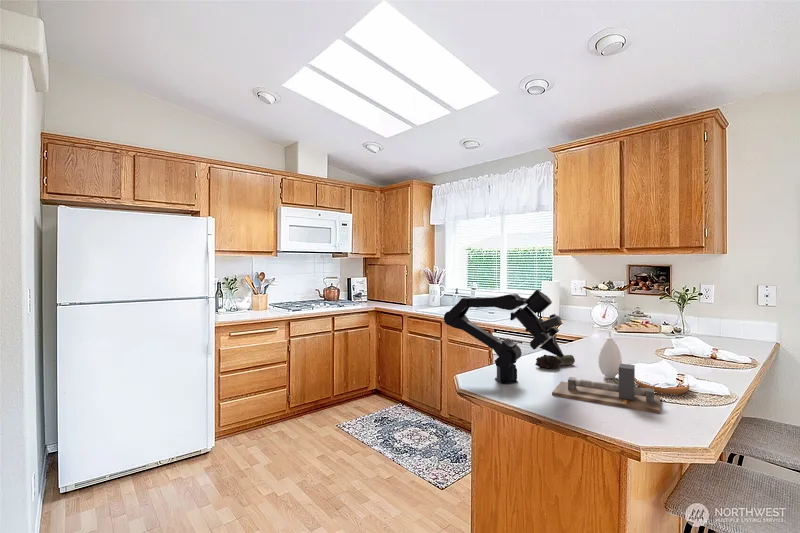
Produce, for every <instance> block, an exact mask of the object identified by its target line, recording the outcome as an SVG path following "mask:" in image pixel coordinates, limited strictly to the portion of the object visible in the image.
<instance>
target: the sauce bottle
mask: <svg viewBox="0 0 800 533" xmlns="http://www.w3.org/2000/svg"><path fill="white" fill-rule="evenodd" d="M598 352H599V353H598V361H597V362H598V368H599V370H600V372H601V374H602V375H603V376H604V377H606V379H610V378H612V379H615V378H616V375H617V374H618V375H619V365H620V364H623V362H622V360H623V359H622V354H621V350H620V348H619V346H618V344H617V343H616V341H615V339H614V337H611V330H609V332H608V336H607V337H605V340H604V341H603V342H602V344H601V347H600V348H599V351H598ZM618 375H617V376H618ZM614 377H615V378H614Z"/></svg>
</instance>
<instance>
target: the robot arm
mask: <svg viewBox="0 0 800 533" xmlns="http://www.w3.org/2000/svg"><path fill="white" fill-rule="evenodd" d="M551 304H553V302H552V300H551V299H550V297H549V296H548V295H546V294H545V293H543V292H542V291H540V289H535V291H534V292H533V293H532V294H531V295H530V296H528V298H526V297H523V296H522V297H521V295H519V294H517V293H509V294H505V295H499V296H490V297H489V296H485V297H484V296H483V297H478V296H477V297H469V296H467V297H461V299H460V300H459V301H458V302H457V303H456V304H455V305H454V306H453V307H452V308H450V310H449V311H447V312H445V313H444V315H443V321H444V322H443V323H445V325H447V326H449V327H451V328H453V329H457V330H460V331H461V330H462V331H463V332H465V333H466V334H468V335H470V336H471V337H473V338H474V339H476V340H477V341H479V342H480V343H483V344H484V345H486V346H487V347H489V348H490V349H492V350H493V352H494V353H496V356H497V358H496V359H495V360H494V363H495V366H496V377H494V380H495V381H497V382H499V383H500V384H502V385H505V384H506V385H507V384H517V383H519V380H518V369H517V366H516V363H517V360H519V359H520V358H521V356H522V349H521V348H520V346H518V343H516V342H513V341H512V340H511V339H510V338H506V339H504V340H502V339H500V338H498V337H497V336H494V335H493V334H492V333H489V331H486V330H485V329H483V328H481V327H480V326H478V325H476V324H475V323H473V322H472V321H471V320H469V318H468V317H467V315H466V314H467V312H468V311H469V309H470V308H497V309H501V310H504V311H505V310H506V311H514V310H516V311H515V312H510V318H509V319H510V321H514V320H515V319H516V320H518V322H520V324H521V325H522V326H523V327H524V330H525V332H526V333H529V334H530V335H531V336H532V337H533V339H532V340H531V341H530V342H529V346H530V347H531V348H532V350H536V349H537V348H539V349H542V350H543V351H546V352H548V353H551V354H552V355H553V356H559V357H561V358H562V357H563V356H564V355H565V354H564V353H563V351H562V349H561V348H560V346H559V344H558V342H557V336H558V332H560V330H559V329H558V328H557V327H559V326H561V325H563V322H562V320H561V319H562V318H561V317H560V315H556V314H555V313H553V314H550V315H549V318H547V319H543V318H538V316H537V315H536V314H537V313H538V314H541V313H542V312H544V311H545V310H547V308H549V306H550V305H551ZM522 306H524V307H522ZM539 346H540V347H539Z"/></svg>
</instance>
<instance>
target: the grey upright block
mask: <svg viewBox="0 0 800 533" xmlns="http://www.w3.org/2000/svg"><path fill="white" fill-rule="evenodd" d="M635 366H636V365H635V364H627V363H622V364H620V365H619V374H618V385H619V398H623V399H630V400H634V396H635V395H634V387H636V383H635V377H636V375H635V373H636V372H635V370H636V369H635Z"/></svg>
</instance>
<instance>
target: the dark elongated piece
mask: <svg viewBox="0 0 800 533" xmlns="http://www.w3.org/2000/svg"><path fill="white" fill-rule="evenodd" d="M563 355H564V356H563V357H562V358H561V357H559V356H556V355H551V354H549V355H548V354H543V355H542V356H538V357H537V358H536V359H535V360H536V361H535V364H534V365H535V366H536V367H539V368H543V369H551V370H554V369H555V370H557V369H559V367H560V366H571V365H572V366H573V365H574V363H575V362H576V360H575V359H576V358H575V356H574V355H572V354H563Z"/></svg>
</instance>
